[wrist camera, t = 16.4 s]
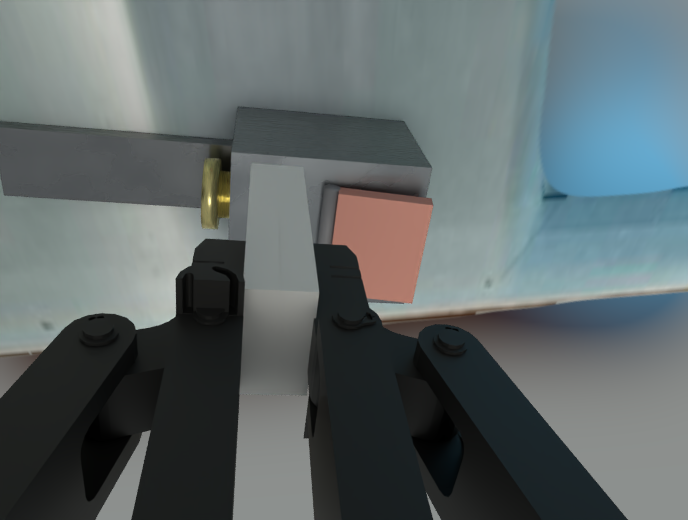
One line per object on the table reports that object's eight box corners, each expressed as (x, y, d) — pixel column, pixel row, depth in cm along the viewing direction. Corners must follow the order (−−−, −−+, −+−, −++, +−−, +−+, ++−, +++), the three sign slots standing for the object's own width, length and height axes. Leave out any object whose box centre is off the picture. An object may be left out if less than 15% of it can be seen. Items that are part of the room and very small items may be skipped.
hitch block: (15, 219, 45) (-37, 285, 38) (-7, 84, 40) (-72, 128, 33) (383, 240, 50) (404, 303, 42) (404, 121, 45) (432, 168, 37)
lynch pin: (207, 209, 45) (200, 241, 41) (207, 147, 42) (201, 174, 38) (405, 222, 47) (418, 253, 43) (416, 163, 45) (431, 190, 41)
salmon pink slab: (311, 292, 39) (412, 303, 39) (323, 192, 35) (433, 205, 36) (313, 281, 40) (410, 292, 40) (324, 183, 37) (430, 196, 37)
